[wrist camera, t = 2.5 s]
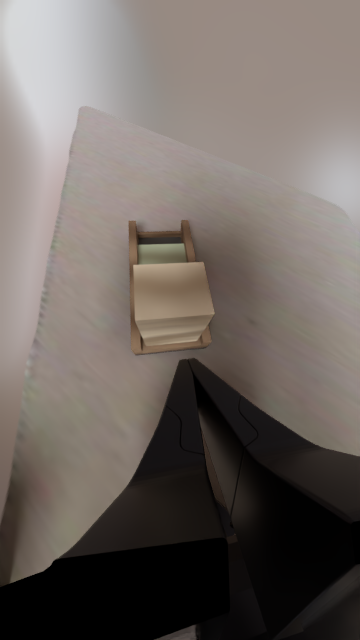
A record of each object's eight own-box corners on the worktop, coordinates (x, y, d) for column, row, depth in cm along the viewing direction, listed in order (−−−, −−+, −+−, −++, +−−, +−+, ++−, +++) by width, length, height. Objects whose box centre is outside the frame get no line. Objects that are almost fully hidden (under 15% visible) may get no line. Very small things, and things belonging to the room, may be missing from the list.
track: (205, 347, 23) (211, 341, 20) (135, 355, 22) (131, 349, 19) (185, 236, 30) (188, 220, 27) (132, 238, 29) (128, 220, 26)
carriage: (196, 341, 21) (214, 314, 13) (146, 346, 20) (135, 320, 12) (190, 303, 22) (203, 261, 15) (144, 307, 22) (133, 264, 14)
